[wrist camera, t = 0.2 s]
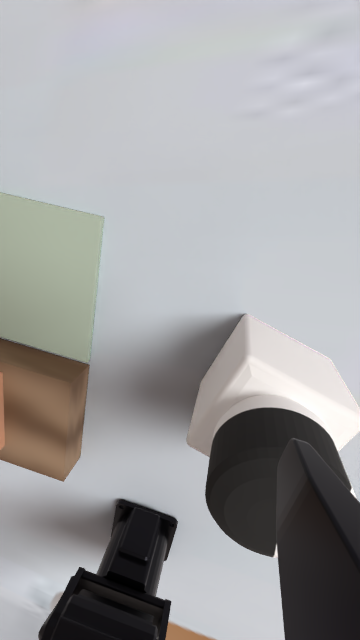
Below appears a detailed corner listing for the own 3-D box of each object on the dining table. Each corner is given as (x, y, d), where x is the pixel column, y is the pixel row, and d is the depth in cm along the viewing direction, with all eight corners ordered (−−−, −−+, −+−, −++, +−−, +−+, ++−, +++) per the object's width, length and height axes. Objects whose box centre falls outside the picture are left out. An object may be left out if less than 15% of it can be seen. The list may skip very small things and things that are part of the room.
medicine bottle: (199, 382, 24) (162, 525, 13) (245, 310, 21) (247, 416, 10) (276, 424, 24) (304, 605, 13) (332, 358, 21) (430, 517, 10)
